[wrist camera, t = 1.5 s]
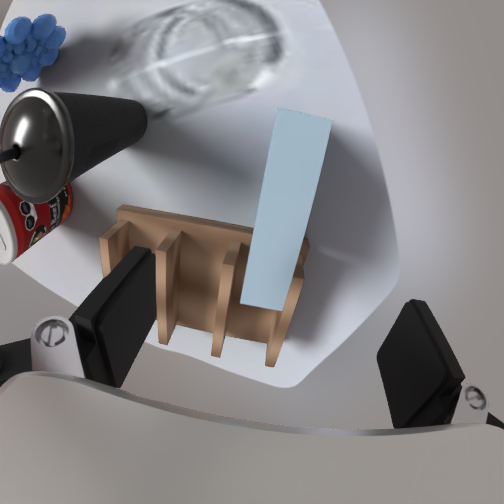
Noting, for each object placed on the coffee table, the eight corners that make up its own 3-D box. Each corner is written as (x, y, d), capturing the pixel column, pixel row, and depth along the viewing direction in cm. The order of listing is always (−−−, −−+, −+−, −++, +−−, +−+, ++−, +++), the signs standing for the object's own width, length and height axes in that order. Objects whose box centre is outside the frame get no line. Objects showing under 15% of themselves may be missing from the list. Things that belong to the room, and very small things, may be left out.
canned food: (62, 233, 32) (8, 278, 22) (27, 195, 30) (-30, 230, 20) (84, 191, 29) (19, 231, 19) (44, 151, 27) (-22, 178, 17)
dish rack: (123, 204, 29) (93, 227, 24) (308, 239, 29) (313, 270, 24) (129, 303, 36) (109, 333, 31) (278, 336, 36) (276, 373, 31)
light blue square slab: (278, 108, 23) (276, 107, 13) (309, 114, 23) (332, 120, 13) (255, 228, 29) (239, 303, 19) (282, 233, 29) (282, 311, 19)
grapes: (81, 1, 18) (6, -17, 7) (96, 39, 20) (14, 27, 10) (19, 63, 21) (-52, 71, 10) (31, 100, 23) (-44, 117, 13)
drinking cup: (152, 75, 22) (-31, 72, 5) (167, 149, 26) (5, 241, 8) (90, 100, 24) (-78, 139, 6) (105, 165, 27) (-47, 256, 10)
